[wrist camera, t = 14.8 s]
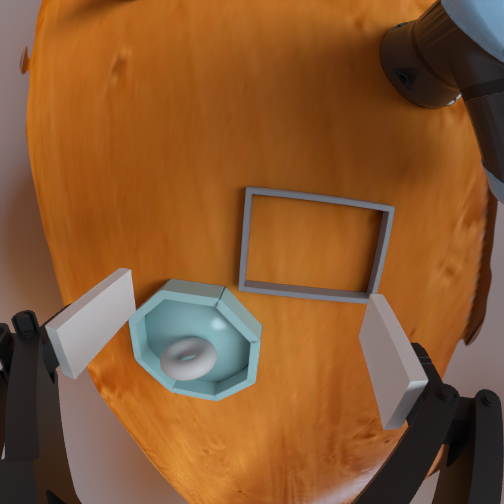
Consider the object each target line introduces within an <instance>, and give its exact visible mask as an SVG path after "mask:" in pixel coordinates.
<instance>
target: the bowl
mask: <svg viewBox="0 0 504 504" xmlns="http://www.w3.org/2000/svg"><path fill="white" fill-rule="evenodd" d="M147 313H148V314H147ZM128 320H129V327H130V333H131V340H132V345H133V351H134V356H135V359H136V361H137V362H138V363H139V364H140V365H141V366H142V367H143V368H144V369H145V370H146V371H148V372H149V373H150V374H151V375H152V376H153V377H154V378H155V379H156V380H158V381H159V382H160V383H161V384H162V385H163V386H164V387H166V388H167V389H168V390H169V391H171V392H174V393H178V394H183V395H187V396H192V397H197V398H202V399H208V400H213V401H219V400H221V399H223V398H225V397H227V396H230V395H232V394H234V393H236V392H238V391H240V390H242V389H244V388H246V387H248V386H250V385H252V384H254V383H255V381H256V374H257V367H258V359H259V351H260V343H261V335H262V325H261V324H260V323H259V322H258V321H257V320H256V319H255V317H254V316H253V315H252V314H251V313H250V312H249V311H248V310H247V309H246V308H245V307H244V306H243V305H242V304H241V303H240V301H239V300H238V299H237V298H236V297H235V296H234V295H233V294H232V293H231V292H230V291H229V289H228V288H227V287H225V288H224V286H220V285H213V284H205V283H198V282H191V281H184V280H177V279H171V280H168V281H167V282H166V283H165V284H164V285H163V286H162V287H160V288H159V289H158V290H157V291H156V292H155V293H154V294H152V295H151V296H150V297H149V298H148V299H147V300H146V301H145V302H143V303H142V304H141V305H140V306H139V307H138V308H137V309H136V312H135V313H134V314H133V315H132V316H131V317H130V318H129V319H128ZM190 337H197V338H202V339H205V340H208V341H209V342H210V343H212V344H213V345H214V347H215V349H216V351H217V360H216V363H215V365H214V366H213V368H212V369H211V370H210V371H209V372H208V373H207V374H205V375H203V376H201V377H200V378H197V379H193V380H187V381H180V380H174V379H172V378H170V377H168V376H167V375H166V374H165V373H164V372H163V371H162V369H161V366H160V357H161V354H162V353H163V351H164V350H165V349H166V347H168V346H169V345H170V344H172V343H174V342H176V341H178V340H181V339H184V338H190ZM193 357H195V356H189V357H186V358H184V359H182V360H181V361H184V360H189V359H191V358H193ZM248 362H249V364H248ZM247 364H248V365H247Z"/></svg>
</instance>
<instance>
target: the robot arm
mask: <svg viewBox="0 0 504 504" xmlns="http://www.w3.org/2000/svg"><path fill="white" fill-rule="evenodd" d="M380 59H381V63H382V66H383V69H384V71H385V73H386V75H387V77H388V79H389V80H390V82H391V83H392V85H393V86H394V87H395V88H396V89H397V90H398V91H399V92H400V93H401V94H402V95H403V96H404V97H405V98H407V99H408V100H409V101H411V102H413V103H415V104H416V105H419V106H421V107H425V108H430V109H437V108H442V107H446V106H449V105H451V104H453V103H454V102H456V101H457V100H458V99H459V97H460V96H462V98H463V101H464V104H465V106H466V109H467V112H468V115H469V117H470V120H471V123H472V126H473V129H474V133H475V136H476V139H477V142H478V146H479V150H480V153H481V157H482V159H481V162H482V166H483V168H484V170H485V172H486V176H487V179H488V184H489V187H490V190H491V192H492V193H493V194H494V196H495V197H496V198H497V199H498V200H499V201H500V202H501V203H503V204H504V0H437V1H436V2H435V3H434V4H432V5H431V6H430V7H429V8H428V9H427V10H426V11H425V12H424V13H423V14H422V15H421V16H420V17H419V18H418V19H417V20H414V21H409V22H405V23H401V24H398V25H396V26H394V27H393V28H391V29H390V30H389V32H388V33H387V34H386V35H385V36H384V38H383V40H382V42H381V46H380ZM501 92H503V93H501ZM496 93H498V94H496ZM492 94H493V95H492ZM487 95H488V96H487ZM482 96H484V97H482ZM478 97H479V98H478ZM474 98H475V99H474ZM470 99H471V100H470ZM135 312H136V306H135V299H134V292H133V284H132V276H131V269H125V268H119V269H118V270H116V271H115V272H113V273H112V274H111V275H109V276H108V277H107V278H105V279H104V280H103V281H101V282H100V283H99V284H97V285H96V286H95V287H93V288H92V289H91V290H89V291H88V292H87V293H85V294H84V295H83V296H81V297H80V298H79V299H78V300H76V301H75V302H74V303H71V304H69V305H67V306H65V307H64V308H63V309H62V310H60V312H58V313H56V314H55V316H53V317H51V318H50V319H49V320H48V321H47V322H45V323H44V324H43V325H42V326H40V327H39V324H38V321H37V318H36V315H35V313H34V312H33V311H30V310H26V311H21V312H19V313H17V314H16V315H14V316H13V317H12V319H11V320H12V323H13V326H14V329H15V331H16V333H11V332H10V330H9V327H8V325H7V324H5V323H0V363H1V364H2V367H3V368H2V370H0V504H82V503H81V502H80V500H79V499H78V497H77V495H76V492H75V489H74V485H73V481H72V477H71V473H70V469H69V464H68V459H67V454H66V448H65V443H64V436H63V429H62V422H61V413H60V403H59V390H58V375H57V371H56V368H57V367H58V366H59V365H60V367H61V370H62V372H63V374H64V375H66V376H68V377H70V378H73V379H76V378H77V377H78V375H79V374H80V373H81V372H82V371H83V370H84V369H85V367H86V366H87V365H88V364H89V363H90V362H91V361H92V359H93V358H94V357H95V356H96V355H97V354H98V353H99V351H100V350H101V349H102V348H103V347H104V346H105V345H106V344H107V342H108V341H109V340H110V339H111V338H112V337H113V336H114V335H115V334H116V333H117V331H118V330H119V329H120V328H121V327H122V326H123V325H124V324H125V323H126V322H127V320H128V319H129V318H130V317H131V316H132V315H133V314H134V313H135ZM359 340H360V343H361V347H362V350H363V353H364V357H365V360H366V364H367V367H368V371H369V374H370V378H371V382H372V385H373V389H374V393H375V397H376V401H377V405H378V409H379V413H380V417H381V421H382V425H383V430H389V429H399V428H401V427H402V425H403V424H404V422H405V420H407V423H408V426H409V427H408V428H407V430H406V431H405V433H404V434H403V436H402V437H401V438H400V440H399V441H398V444H397V445H396V447H395V448H394V449H393V451H392V452H391V454H390V455H389V457H388V458H387V459H386V461H385V462H384V463H383V465H382V466H381V468H380V469H379V470H378V471H377V473H376V474H375V475H374V477H373V478H372V479H371V480H370V482H369V483H368V484H367V485H366V486H365V488H364V489H363V490H362V491H361V492H360V494H359V495H358V496H357V497H356V498H355V499H354V500H353V502H352V503H351V504H409V503H410V502H411V500H412V499H413V497H414V495H415V494H416V492H417V490H418V489H419V487H420V485H421V484H422V482H423V480H424V479H425V477H426V475H427V473H428V471H429V470H430V468H431V466H432V464H433V462H434V460H435V458H436V456H437V454H438V452H439V450H440V448H441V446H442V444H445V447H444V453H443V458H442V464H441V469H440V473H439V478H438V482H437V486H436V490H435V494H434V498H433V501H432V504H500V501H501V492H502V480H503V457H504V456H503V455H504V454H503V453H504V452H503V451H504V449H503V448H504V445H503V422H502V410H501V402H500V399H499V397H498V396H497V395H496V394H495V393H494V392H493V391H490V390H487V389H483V390H480V391H479V392H478V393H477V394H476V396H475V397H474V398H467V397H460V396H459V393H458V391H457V390H456V389H455V388H454V387H452V386H450V385H448V384H443V382H442V380H441V378H440V376H439V374H438V372H437V370H436V369H435V367H434V365H433V364H432V361H431V359H430V358H429V356H428V354H427V352H426V350H425V349H424V348H423V347H422V346H421V345H420V344H418V343H410V342H409V340H408V338H407V336H406V335H405V333H404V331H403V329H402V327H401V325H400V323H399V322H398V320H397V318H396V316H395V314H394V313H393V311H392V309H391V307H390V306H389V304H388V302H387V300H386V299H385V297H384V295H382V294H370V296H369V300H368V304H367V308H366V312H365V316H364V319H363V323H362V327H361V331H360V334H359ZM4 443H5V458H4V459H1V457H2V452H3V448H4Z"/></svg>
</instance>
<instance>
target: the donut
mask: <svg viewBox="0 0 504 504" xmlns="http://www.w3.org/2000/svg"><path fill="white" fill-rule="evenodd" d="M189 356H195V357H193V358H191V359H189V360H184V361H181V360H182V359H184V358H186V357H189ZM216 360H217V351H216V349H215V347H214V345H213V344H212V343H210V342H209V341H208V340H205V339H202V338H197V337H190V338H184V339H181V340H178V341H176V342H174V343H172V344H170V345H169V346H168V347H166V349H165V350H164V351H163V353H162V354H161V357H160V366H161V369H162V371H163V372H164V373H165V374H166V375H167V376H168V377H170V378H172V379H174V380H180V381H187V380H193V379H197V378H200V377H201V376H203V375H205V374H207V373H208V372H209V371H210V370H211V369H212V368H213V366H214V365H215V363H216Z"/></svg>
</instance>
